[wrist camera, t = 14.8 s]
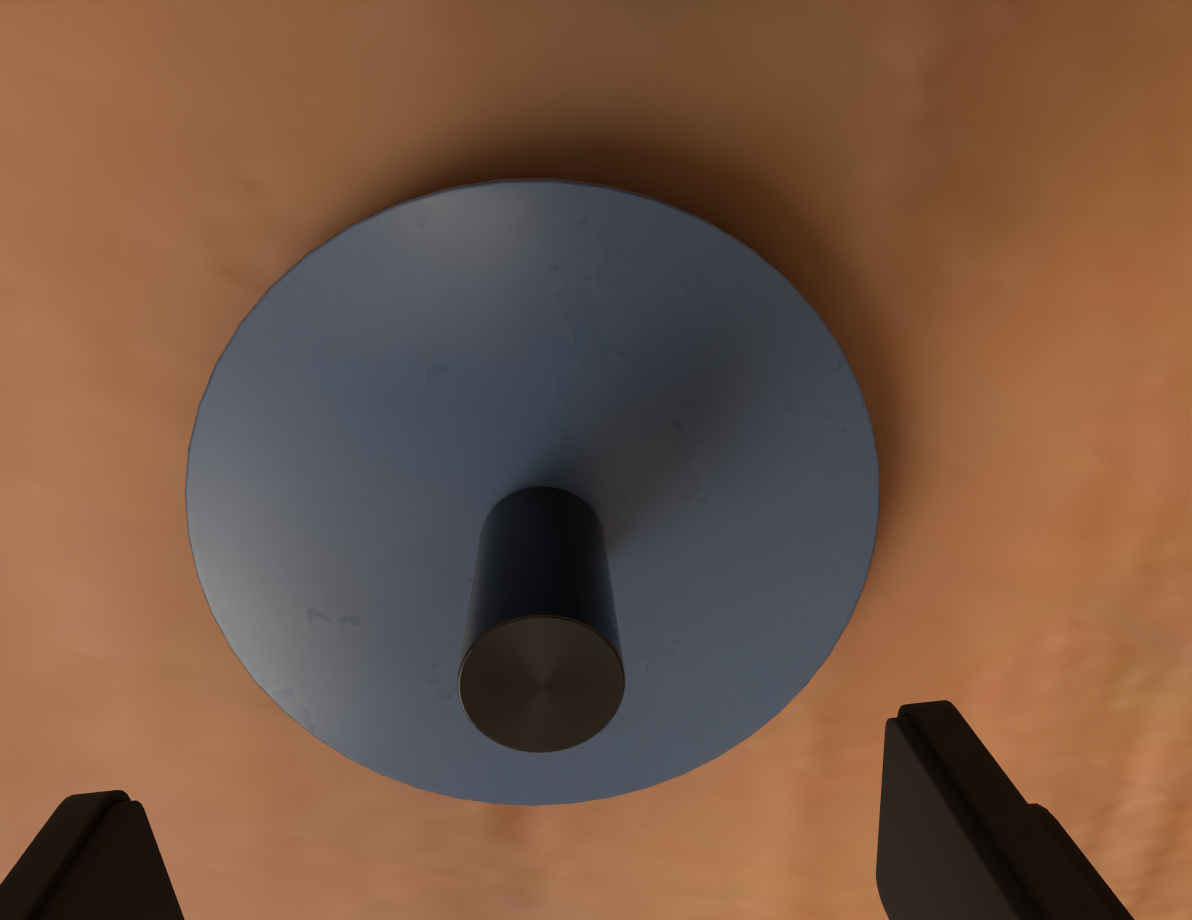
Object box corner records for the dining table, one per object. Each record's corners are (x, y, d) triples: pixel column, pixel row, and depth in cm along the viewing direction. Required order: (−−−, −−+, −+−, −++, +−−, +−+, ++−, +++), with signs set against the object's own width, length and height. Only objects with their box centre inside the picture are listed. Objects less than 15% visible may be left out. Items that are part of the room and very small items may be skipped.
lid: (877, 145, 15) (1065, 148, 10) (847, 739, 21) (958, 958, 15) (120, 209, 15) (-130, 249, 9) (289, 798, 20) (194, 1044, 15)
